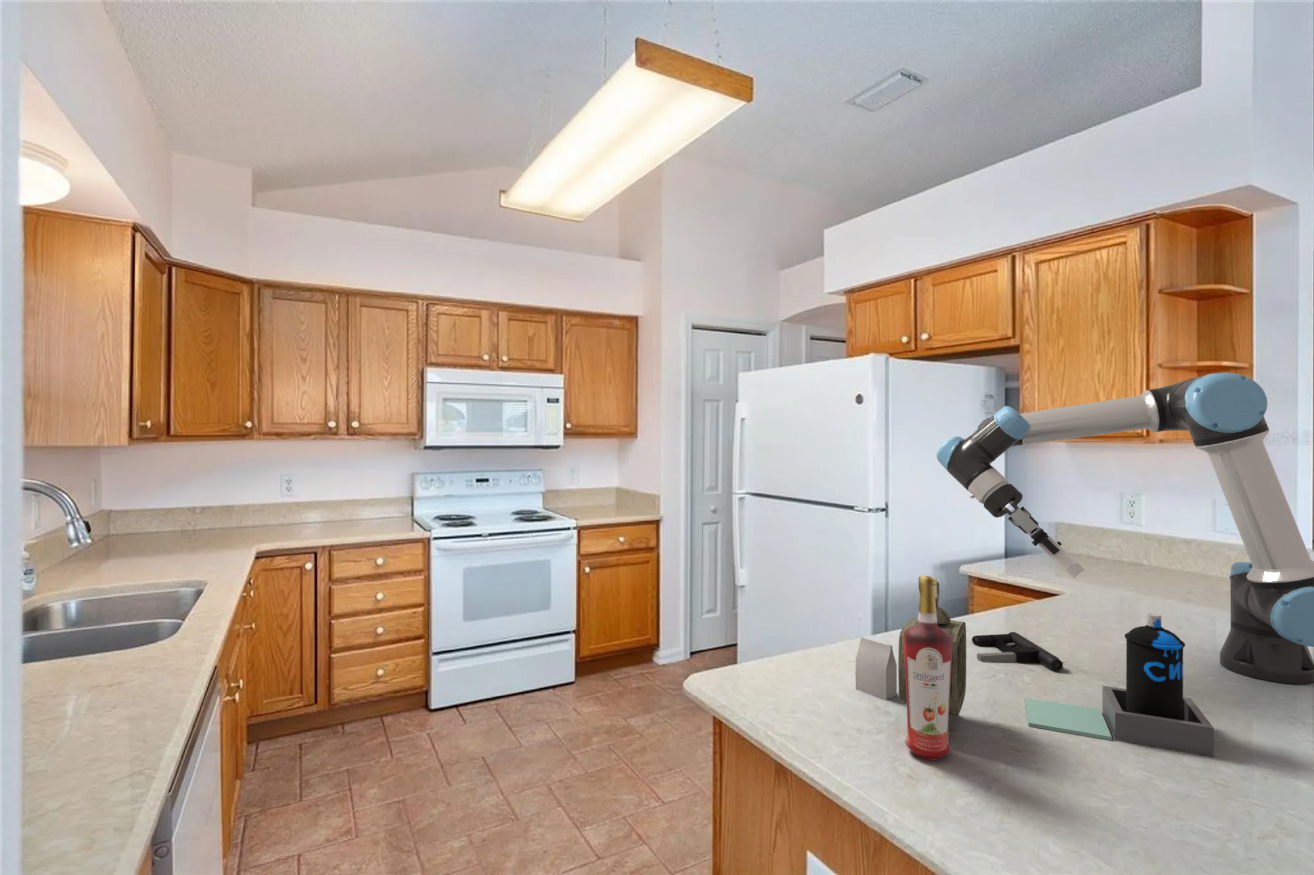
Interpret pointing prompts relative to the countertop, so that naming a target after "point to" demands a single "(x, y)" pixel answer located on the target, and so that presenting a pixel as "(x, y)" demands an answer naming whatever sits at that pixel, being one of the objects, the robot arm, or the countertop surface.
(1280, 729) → the countertop surface
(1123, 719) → the grey square tray
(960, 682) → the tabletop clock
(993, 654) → the door handle
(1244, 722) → the countertop surface
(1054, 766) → the countertop surface
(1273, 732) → the countertop surface
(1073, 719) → the occupied pad
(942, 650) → the liquor
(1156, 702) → the aerosol can
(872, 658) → the tea bag
